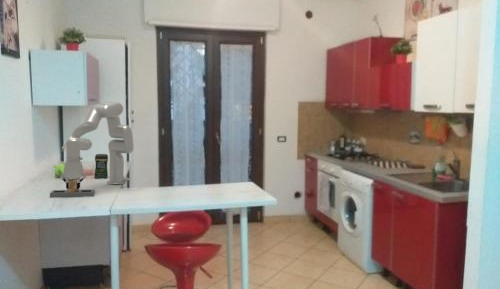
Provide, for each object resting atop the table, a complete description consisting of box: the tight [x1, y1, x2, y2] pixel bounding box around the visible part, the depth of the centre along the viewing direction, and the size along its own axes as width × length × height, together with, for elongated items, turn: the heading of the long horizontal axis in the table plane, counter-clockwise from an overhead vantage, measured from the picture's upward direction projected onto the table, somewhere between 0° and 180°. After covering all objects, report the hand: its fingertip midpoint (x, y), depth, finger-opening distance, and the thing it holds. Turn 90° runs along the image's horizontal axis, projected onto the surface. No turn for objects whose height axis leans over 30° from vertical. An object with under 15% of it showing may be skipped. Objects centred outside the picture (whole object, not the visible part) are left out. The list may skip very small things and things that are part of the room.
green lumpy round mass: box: [53, 162, 65, 179], centre depth 305 cm, size 15×14×11 cm
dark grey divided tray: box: [49, 189, 96, 198], centre depth 243 cm, size 24×9×3 cm, turn 106°
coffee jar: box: [94, 153, 109, 179], centre depth 308 cm, size 10×8×19 cm
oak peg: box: [68, 178, 78, 192], centre depth 242 cm, size 4×4×10 cm
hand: (73, 189), depth 243 cm, fingers open, 5 cm apart
